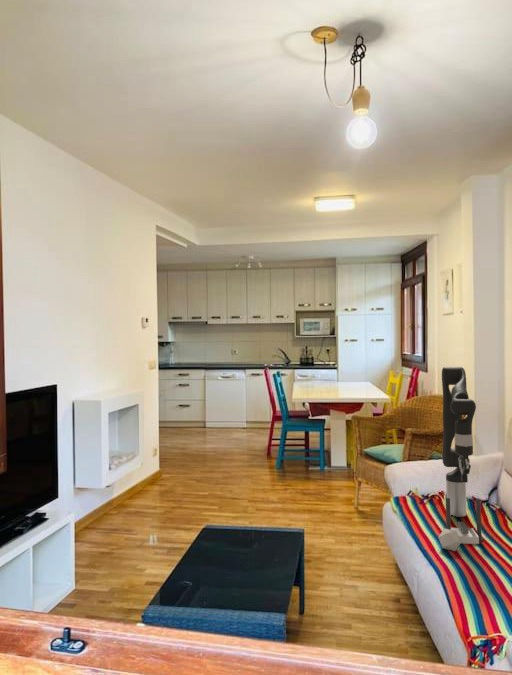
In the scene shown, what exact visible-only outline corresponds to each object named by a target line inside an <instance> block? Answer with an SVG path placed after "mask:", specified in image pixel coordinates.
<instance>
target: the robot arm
mask: <svg viewBox="0 0 512 675" xmlns="http://www.w3.org/2000/svg"><path fill="white" fill-rule="evenodd" d="M466 376H467V374H466V370H465V368H463V367H462V366H443V368H442V369H441V383H442V384H441V387H442V388H441V389H442V425H443V426H442V427H443V428H442V430H443V432H442V433H443V434H442V435H443V436H442V440H443V441H442V449H441V450H442V451H441V452H442V455H441V456H442V457H441V458H442V460H441V461H442V463H443V466H444V467H445V468H455V469H454V470H452V471H450V472H447V473H446V474H445V483H446V484H445V485H446V486H445V487H446V489H445V490H446V498H450V516H451V515H453V516H452V517H455V516H456V517H455V518H457V517H458V518H462V517H466V516H467V486H466V485H467V484H468V475H470V472H471V471H470V470H471V467H472V465H471V464H470V463H471V460H470V458H469V457H470V456H473V455H474V442H473V440H474V439H473V419H474V416H475V414H476V408H477V405H476V402H475V401H474V400H473V399H470V397H469V394H468V390H467V377H466ZM450 386H453V387H452V388H451V390H450ZM463 416H466V417H465V418H463ZM453 440H454V448H452V444H453ZM466 483H467V484H466Z"/></svg>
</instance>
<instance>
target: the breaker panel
mask: <svg viewBox="0 0 512 675" xmlns="http://www.w3.org/2000/svg"><path fill="white" fill-rule="evenodd" d="M451 530H455V531H457V533H458V535H459V538H460V540H461V543H460V544H466V545H467V544H468V545H469V544H470V545H471V544H474V545H480V541H479V536H478V535H477V531H475V530H474V528H473V527H468V532H469V534H462V531H461V530H460V528H459V527H451Z"/></svg>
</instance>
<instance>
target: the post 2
mask: <svg viewBox="0 0 512 675" xmlns="http://www.w3.org/2000/svg"><path fill="white" fill-rule="evenodd" d="M475 502H476V503H475V505H476V506H475V508H476V509H475V510H476V513H475V514H476V534H477V535H478V536H479V542H483V541H484V537H483V536H482V512H481V511H482V506H481V498H479V497H478V498H475Z"/></svg>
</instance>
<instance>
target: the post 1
mask: <svg viewBox="0 0 512 675" xmlns="http://www.w3.org/2000/svg"><path fill="white" fill-rule="evenodd" d="M445 517H446V518H445V520H446V522H445V524H446V526H445V527H446V528H445V529H450V530H451V528H452V527H451V525H452V524H451V515H450V498H447V497H445Z"/></svg>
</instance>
